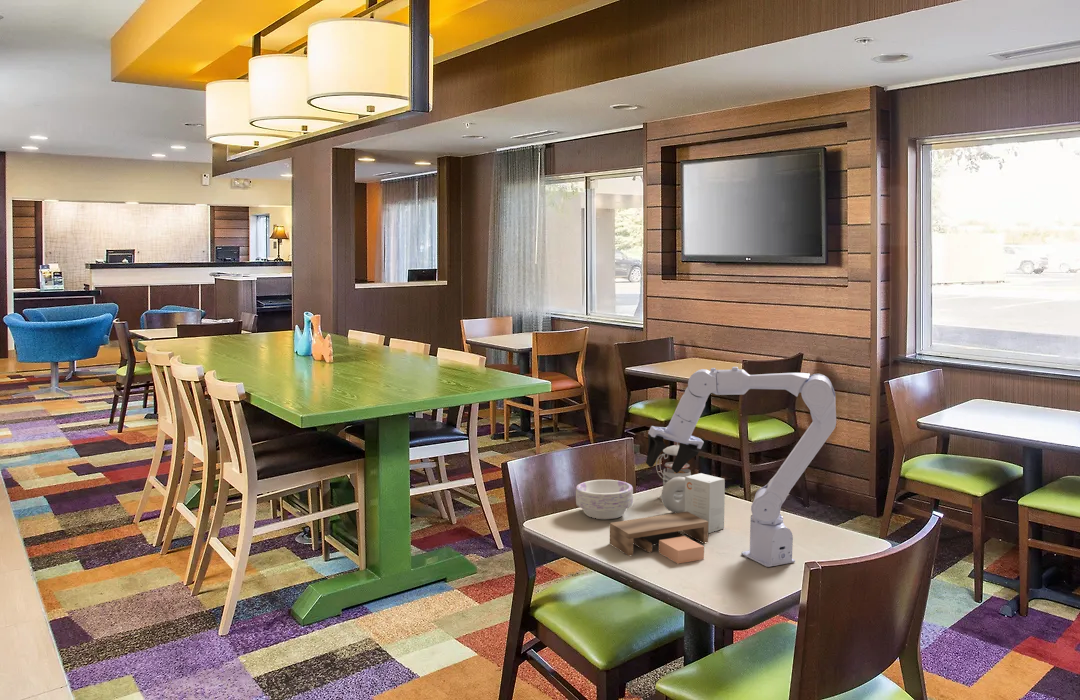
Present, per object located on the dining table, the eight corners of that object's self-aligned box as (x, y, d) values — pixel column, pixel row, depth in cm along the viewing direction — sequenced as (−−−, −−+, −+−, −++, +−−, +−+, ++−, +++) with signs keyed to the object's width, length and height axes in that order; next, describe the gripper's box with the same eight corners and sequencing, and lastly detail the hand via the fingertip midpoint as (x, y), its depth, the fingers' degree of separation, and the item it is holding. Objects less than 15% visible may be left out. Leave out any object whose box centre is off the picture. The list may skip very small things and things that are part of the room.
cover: (703, 559, 194) (704, 546, 194) (677, 563, 191) (678, 550, 191) (683, 548, 201) (684, 535, 201) (658, 552, 198) (658, 540, 198)
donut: (664, 516, 226) (664, 479, 225) (658, 512, 229) (659, 476, 228) (698, 513, 229) (699, 477, 228) (693, 509, 232) (693, 473, 231)
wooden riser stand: (707, 542, 205) (708, 521, 205) (628, 555, 196) (628, 533, 196) (686, 531, 213) (686, 511, 213) (609, 543, 204) (609, 522, 204)
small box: (724, 528, 216) (725, 478, 214) (708, 534, 212) (709, 482, 210) (699, 521, 222) (700, 472, 221) (683, 526, 218) (684, 476, 217)
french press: (681, 505, 236) (682, 416, 233) (647, 497, 244) (648, 411, 241) (700, 498, 243) (702, 411, 240) (667, 490, 251) (668, 406, 248)
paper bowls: (568, 509, 233) (568, 480, 232) (620, 504, 237) (621, 476, 236) (586, 525, 218) (586, 495, 217) (641, 521, 222) (641, 491, 221)
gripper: (701, 416, 205) (677, 465, 208) (652, 403, 198) (629, 454, 201) (716, 429, 198) (692, 479, 202) (667, 416, 192) (642, 468, 195)
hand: (661, 468), depth 201 cm, fingers open, 7 cm apart
